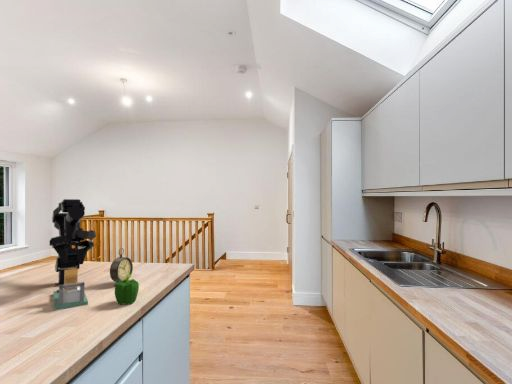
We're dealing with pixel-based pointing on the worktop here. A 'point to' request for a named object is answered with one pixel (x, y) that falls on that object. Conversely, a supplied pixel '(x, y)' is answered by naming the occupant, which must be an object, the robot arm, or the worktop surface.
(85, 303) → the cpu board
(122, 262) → the alarm clock
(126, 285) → the bell pepper
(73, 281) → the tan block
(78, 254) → the robot arm
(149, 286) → the worktop surface
